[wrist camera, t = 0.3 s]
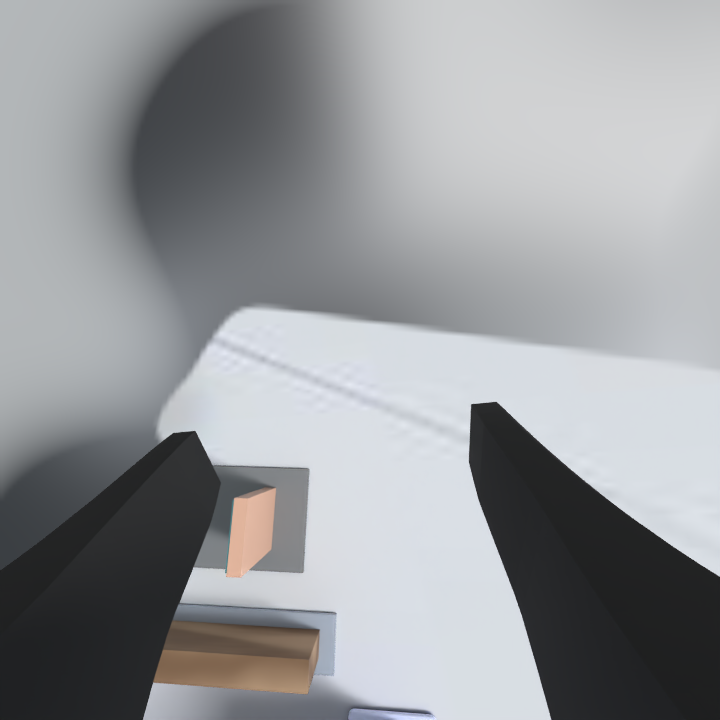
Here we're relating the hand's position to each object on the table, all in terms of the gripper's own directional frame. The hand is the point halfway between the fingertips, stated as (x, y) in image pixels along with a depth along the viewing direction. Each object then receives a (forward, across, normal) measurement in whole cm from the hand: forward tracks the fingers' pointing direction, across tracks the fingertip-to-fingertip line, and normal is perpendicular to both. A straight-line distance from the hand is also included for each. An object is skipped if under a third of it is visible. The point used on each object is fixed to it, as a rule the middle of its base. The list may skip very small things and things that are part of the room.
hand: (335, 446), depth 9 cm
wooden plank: (+8, +16, +33) cm, 37 cm away
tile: (+16, +12, +25) cm, 32 cm away
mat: (+17, +16, +25) cm, 34 cm away
